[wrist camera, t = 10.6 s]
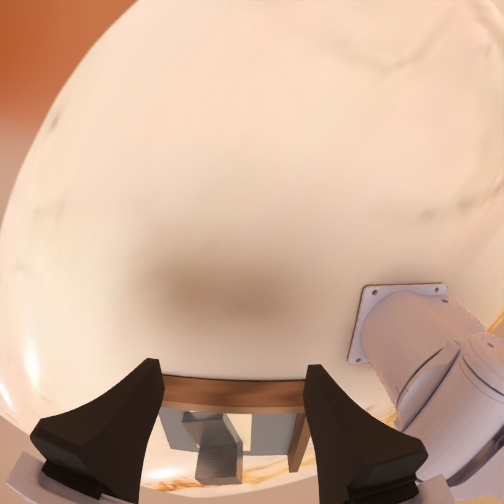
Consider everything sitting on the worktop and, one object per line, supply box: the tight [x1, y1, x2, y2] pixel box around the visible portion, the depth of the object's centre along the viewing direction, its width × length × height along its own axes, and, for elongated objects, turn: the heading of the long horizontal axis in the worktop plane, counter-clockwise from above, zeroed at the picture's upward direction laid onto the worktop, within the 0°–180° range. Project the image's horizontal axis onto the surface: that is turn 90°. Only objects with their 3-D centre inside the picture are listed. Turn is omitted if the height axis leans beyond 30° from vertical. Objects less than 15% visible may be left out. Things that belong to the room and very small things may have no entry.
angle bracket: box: [181, 412, 243, 485], centre depth 22 cm, size 7×4×6 cm, turn 15°
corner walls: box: [161, 375, 311, 473], centre depth 24 cm, size 16×14×3 cm
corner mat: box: [158, 377, 298, 456], centre depth 25 cm, size 16×14×1 cm
